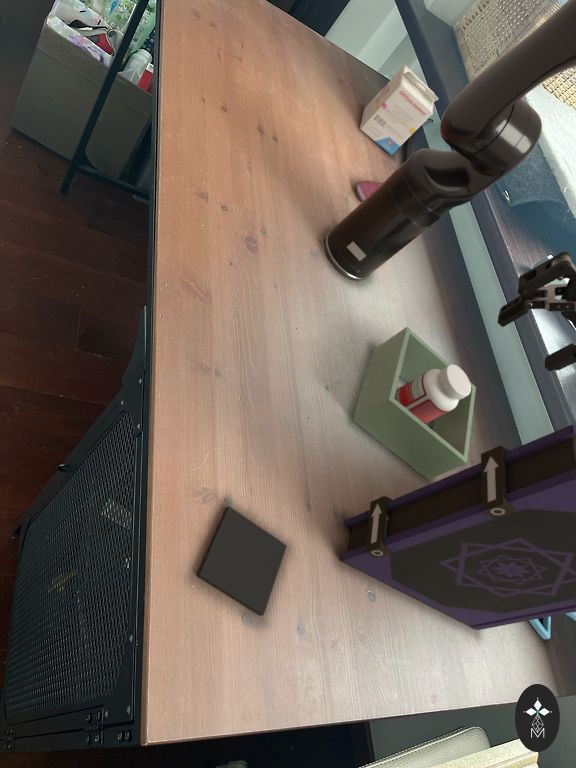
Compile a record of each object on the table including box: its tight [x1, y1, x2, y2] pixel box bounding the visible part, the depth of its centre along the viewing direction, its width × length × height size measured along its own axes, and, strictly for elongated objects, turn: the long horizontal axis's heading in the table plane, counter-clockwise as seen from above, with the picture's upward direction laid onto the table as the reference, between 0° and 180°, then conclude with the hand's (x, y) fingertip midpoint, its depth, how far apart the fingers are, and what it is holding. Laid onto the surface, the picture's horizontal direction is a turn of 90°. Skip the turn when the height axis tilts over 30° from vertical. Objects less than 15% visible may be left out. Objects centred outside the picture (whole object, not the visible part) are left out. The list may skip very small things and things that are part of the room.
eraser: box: [354, 180, 383, 203], centre depth 112 cm, size 11×4×2 cm, turn 117°
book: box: [339, 424, 576, 631], centre depth 66 cm, size 24×6×30 cm, turn 77°
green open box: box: [352, 326, 477, 481], centre depth 87 cm, size 15×15×7 cm
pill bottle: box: [394, 364, 471, 425], centre depth 85 cm, size 6×6×11 cm
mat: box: [196, 506, 287, 617], centre depth 63 cm, size 8×8×1 cm
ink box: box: [359, 64, 439, 156], centre depth 120 cm, size 9×8×13 cm
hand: (523, 342), depth 73 cm, fingers open, 8 cm apart
